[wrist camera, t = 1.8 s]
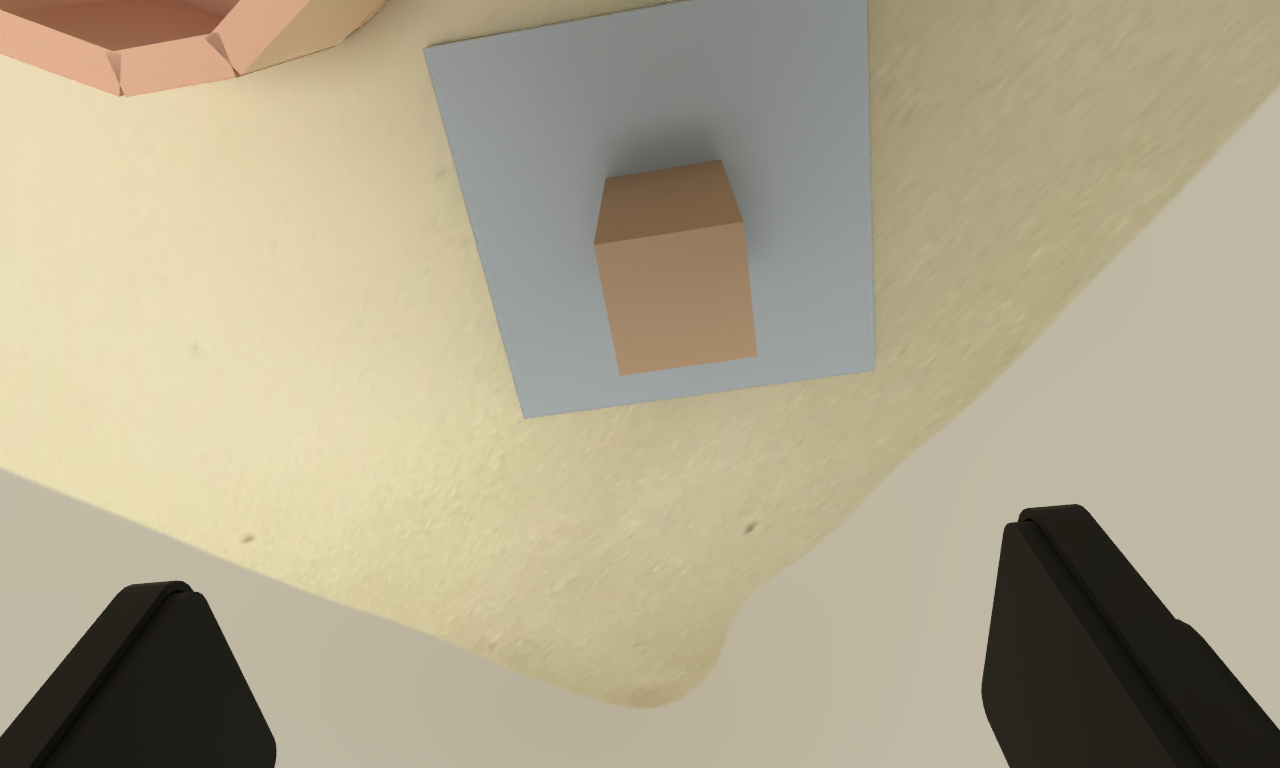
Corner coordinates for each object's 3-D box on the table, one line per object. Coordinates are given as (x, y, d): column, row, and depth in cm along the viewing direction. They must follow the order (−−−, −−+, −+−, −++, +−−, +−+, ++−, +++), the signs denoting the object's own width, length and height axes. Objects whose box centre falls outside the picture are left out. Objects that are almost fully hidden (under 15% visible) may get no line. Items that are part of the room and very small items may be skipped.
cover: (856, -33, 25) (941, -25, 18) (867, 356, 32) (932, 475, 25) (431, 44, 26) (351, 80, 19) (527, 403, 33) (495, 530, 26)
